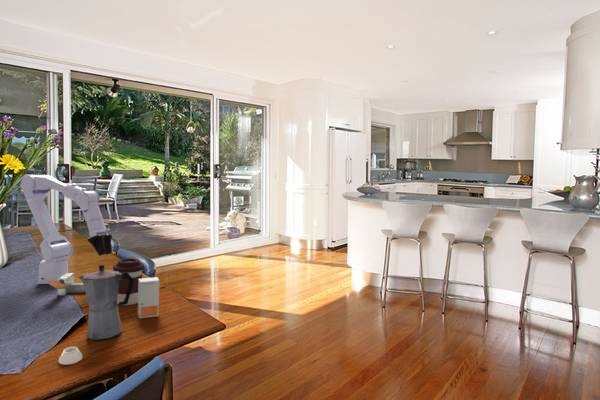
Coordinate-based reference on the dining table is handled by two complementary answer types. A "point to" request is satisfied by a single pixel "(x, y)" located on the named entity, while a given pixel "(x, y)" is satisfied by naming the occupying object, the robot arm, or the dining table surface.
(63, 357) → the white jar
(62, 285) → the lever
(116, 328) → the moka pot
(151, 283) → the skincare box
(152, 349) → the dining table surface
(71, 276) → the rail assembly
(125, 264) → the coffee cup
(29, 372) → the dining table surface
